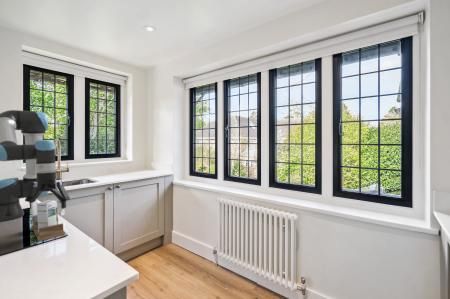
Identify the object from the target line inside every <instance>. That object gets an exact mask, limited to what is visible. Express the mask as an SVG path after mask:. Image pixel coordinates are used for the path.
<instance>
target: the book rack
mask: <svg viewBox="0 0 450 299" xmlns="http://www.w3.org/2000/svg"><path fill="white" fill-rule="evenodd" d="M31 228H32V231H34V232H33V234H34V233H35V234H34V236H35V235H36V236H35V238H36V237H37V238H36V239H37V241H38V242H43V241H47V240H50V239H54V238H58V237H63V236H65V235H66V232H65V230H64V223H62V222H61V223H58V224H57V225H53V226H48V227H44V228H39V232H38V218H37V215H35V216H32V226H31Z"/></svg>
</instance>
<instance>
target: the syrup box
mask: <svg viewBox="0 0 450 299" xmlns="http://www.w3.org/2000/svg"><path fill="white" fill-rule="evenodd" d="M58 213H59V212H58V200H55V199H54V200H53V199H49V200H44V201H42V202H37V218H38V232H39V228H44V227H48V226H53V225H57V224H59V217H58V216H59V214H58Z"/></svg>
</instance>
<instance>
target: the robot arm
mask: <svg viewBox="0 0 450 299" xmlns="http://www.w3.org/2000/svg"><path fill="white" fill-rule="evenodd" d="M16 131H21V132H20V133H21V134H22V135H23V136H24V144H18V140H17V135H16ZM47 131H49V122H48V117H47V114H45V112H43V111H38V110H37V111H35V110H34V111H33V110H32V111H31V110H17V109H16V110H15V109H12V110H11V109H10V110H5V111H3V112H1V113H0V162H10V161H11V162H13V161H25V174H24V175H23V176H22V179H19V178H18V177H10V178H5V179H0V222H5V221H12V220H15V219H19V218H21V217H23V216H24V215H25V212H24V211H25V210H23V207H22V206H21V203H20V199H24V201H25V202H26V203H27V202H28V203H29V210H30V211H31V217H33V216H35V215H37V203H38V201H37V199H38V198H39V197H40V196H45V195H47V194H48V193H49V192H50V193H52V194H53V195H54V196H55V197H56V199H58V200H59V201H60V202H58V209H59V210H58V211H59V212H58V213H59V214H58V216H59V217H61V216H64V215H65V214H66V212H65V211H66V208H67V201H69V200H71V197H70V195H69V194H68V192H67V190H66V188H65V186H64V182H63V181H62V180H61V181H60V180H59V181H56V180H57V172H56V170H57V168H56V167H57V162H56V146H55V145H56V144H55V141H54V140H52V139H50V140H49V139H46V140H45V139H44V140H43V138H44V137H43V136H45V134H46V132H47Z"/></svg>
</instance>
